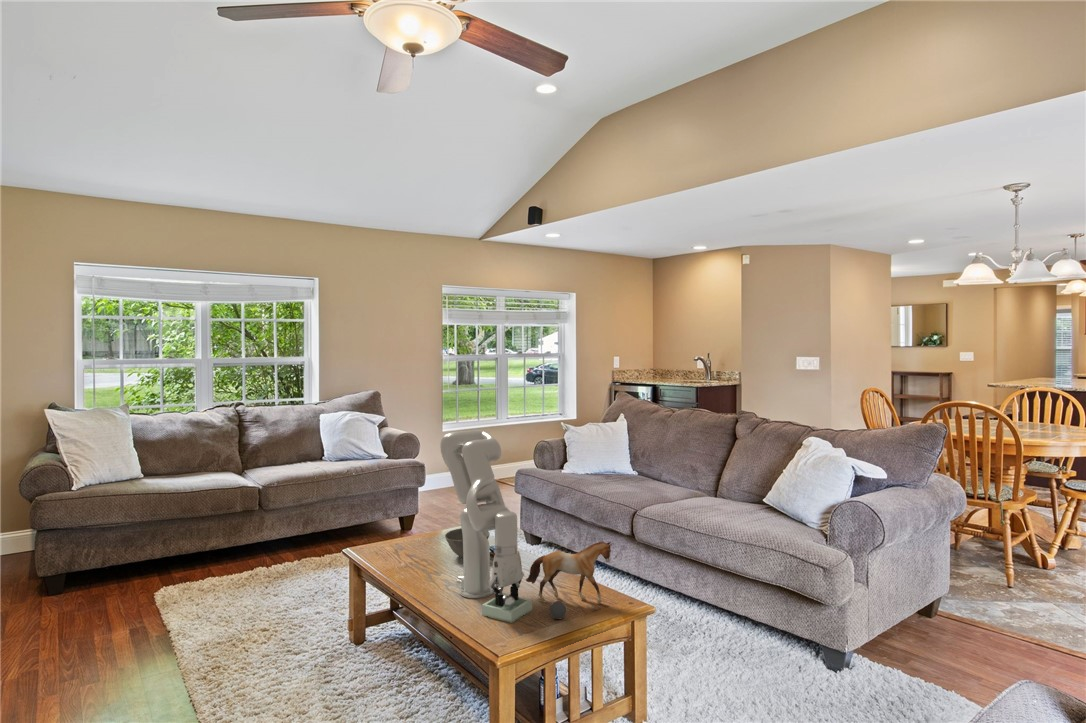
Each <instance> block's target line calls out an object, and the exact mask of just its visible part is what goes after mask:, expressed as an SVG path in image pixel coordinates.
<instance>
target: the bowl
mask: <svg viewBox="0 0 1086 723" xmlns="http://www.w3.org/2000/svg"><path fill="white" fill-rule="evenodd" d="M483 534H484V536H485V537H486V538H487V539H488V540H489V537H490V531H484V532H483ZM444 537H445V540H446V542H447V544H448V546H449V547H450V549H451V550H452V552H453V553H454V554H455V555H456V556H457V557H459V558H462V559H463V534H462V528H461V527H460V528H456V529H452V530H449V531H447V532H446V533H445V534H444Z"/></svg>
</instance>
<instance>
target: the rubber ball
mask: <svg viewBox="0 0 1086 723" xmlns="http://www.w3.org/2000/svg"><path fill="white" fill-rule="evenodd" d="M567 610H568V609H567V606H566V604H565V603H564V602H563V601H559V600H556V601H554V602H552V603H551V604H550V606H549V612H550V616H551V617H552V618H553V619H556V620H561V619H563V618H564V617H565V616H566V614H567Z"/></svg>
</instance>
